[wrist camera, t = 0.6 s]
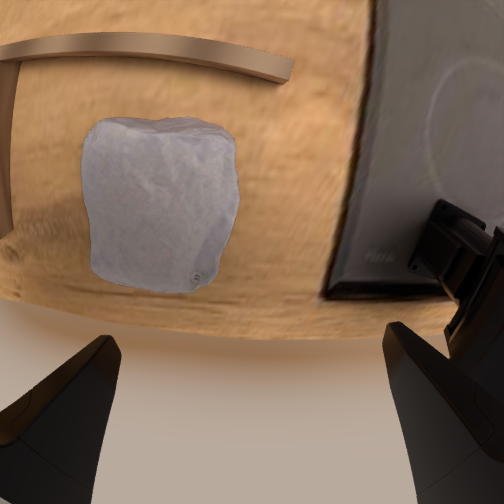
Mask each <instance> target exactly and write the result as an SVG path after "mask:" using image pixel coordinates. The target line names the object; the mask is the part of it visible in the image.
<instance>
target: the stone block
mask: <svg viewBox="0 0 504 504" xmlns="http://www.w3.org/2000/svg"><path fill="white" fill-rule="evenodd" d="M235 157H236V142H235V139H234V138H233V137H232V135H231V134H229V132H228V131H226V130H225V129H224V128H223V127H222V126H219V125H216V124H212V123H208V122H205V121H202V120H200V119H198V118H192V117H179V118H164V119H162V120H148V119H141V118H125V117H115V118H106V119H103V120H100V121H98V122H97V123H96V125H95V126H94V127H93V128H92V129H91V130H90V132H89V133H88V135H87V136H86V138H85V140H84V143H83V153H82V158H81V178H82V190H83V196H84V202H85V206H86V209H87V213H88V218H89V224H90V240H91V250H90V265H91V269H92V271H93V272H94V273H95V274H96V275H97V276H98V277H100V278H102V279H104V280H107V281H109V282H110V283H113V284H119V285H122V286H130V287H135V288H140V289H145V290H150V291H155V292H162V293H193V292H195V291H196V290H197V289H198V287H200V286H208V285H209V284H210V282H211V281H212V280H213V279H214V278H215V277H216V276H217V274H218V271H219V267H220V259H221V256H222V253H223V251H224V248H225V246H226V244H227V243H228V241H229V237H230V234H231V231H232V229H233V225H234V222H235V217H236V214H237V211H238V207H239V202H240V195H239V189H238V188H239V184H238V174H237V169H236V165H235Z"/></svg>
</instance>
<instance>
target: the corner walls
mask: <svg viewBox="0 0 504 504" xmlns="http://www.w3.org/2000/svg"><path fill="white" fill-rule="evenodd" d="M67 56H122V57H139V58H151V59H161V60H169V61H177V62H184V63H191V64H197V65H203V66H209V67H214V68H219V69H224V70H229V71H233V72H238V73H242V74H246V75H250V76H254V77H258V78H262V79H266V80H269V81H273V82H277V83H280V84H285V83H286V82H287V81H289V79H290V76H291V72H292V69H293V66H294V63H295V60H293V59H290V58H286V57H283V56H279V55H276V54H272V53H269V52H265V51H261V50H257V49H253V48H248V47H244V46H240V45H235V44H230V43H225V42H219V41H214V40H208V39H201V38H194V37H186V36H178V35H168V34H155V33H136V32H98V33H80V34H68V35H59V36H50V37H43V38H37V39H31V40H26V41H20V42H16V43H11V44H7V45H2V46H0V239H1V238H3V237H4V236H5V235H6V234H8V233H9V232H10V231H12V230H13V222H12V211H11V197H10V139H11V125H12V115H13V106H14V98H15V92H16V85H17V80H18V74H19V69H20V65H21V61H23V60H31V59H40V58H51V57H67Z"/></svg>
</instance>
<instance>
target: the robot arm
mask: <svg viewBox="0 0 504 504" xmlns="http://www.w3.org/2000/svg"><path fill="white" fill-rule="evenodd" d="M443 205H444V207H443V208H442V206H443ZM485 228H486V224H485V223H484V222H483V221H481V220H480V219H478V218H476V217H475V216H473V215H471V214H469V213H468V212H466V211H464V210H462V209H460V208H459V207H457V206H455V205H453V204H451V203H449V202H447V201H445V200H443V199H442V200H440V201H439V202H438V203H437V206H436V208H435V210H434V213H433V215H432V217H431V219H430V221H429V223H428V226H427V228H426V230H425V232H424V234H423V236H422V238H421V240H420V242H419V244H418V246H417V248H416V250H415V252H414V254H413V256H412V258H411V260H410V262H409V263H408V269H409V270H410V272H412V273H415V274H419V275H422V276H426V277H429V278H432V279H436V280H437V281H438V282H439V283H440V285H441V286H442V287H443V288H444V290H445V291H446V292H447V293H448V295H449V296H450V297H451V299H452V300H453V301H454V302H455V304H456V305H457V306H458V310H457V312H456V313H455V315H454V317H453V318H452V320H451V322H450V323H449V324H448V325H447V326H446V328H445V329H444V334H445V338H446V342H447V346H448V350H449V355H450V358H449V359H448V358H446V357H445V356H444V355H443V354H441V353H440V352H439V351H438V350H436V349H435V348H434V347H432V346H431V345H430V344H429V343H427V342H426V341H425V340H424V339H422V338H421V337H420V336H418V335H417V334H416V333H415V332H413V331H412V330H411V329H409V328H408V327H407V326H405V325H404V324H403V323H401V322H399V321H397V322H391V323H388V324H387V326H386V330H385V334H384V338H383V343H382V347H383V352H384V357H385V362H386V367H387V373H388V378H389V384H390V389H391V392H392V395H393V399H394V402H395V406H396V410H397V413H398V417H399V421H400V424H401V428H402V432H403V436H404V440H405V444H406V448H407V452H408V456H409V461H410V465H411V470H412V475H413V479H414V484H415V490H416V494H417V502H418V504H504V229H503V228H500V227H498V226H496V228H495V230H494V233H493V234H494V236H493V238H492V237H491V236H490V235H489V234H487V233H486V232H485ZM414 265H415V266H414ZM413 266H414V267H413ZM120 363H121V352H120V349H119V347H118V345H117V344H116V342H115V340H114V338H113V337H112V336H111V335H100V336H99V337H98V338H96V339H95V340H94V341H92V342H91V343H90V344H88V345H87V346H86V347H84V348H83V349H82V350H81V351H79V352H78V353H77V354H75V355H74V356H73V357H71V358H70V359H69V360H68V361H66V362H65V363H64V364H62V365H61V366H60V367H59V368H57V369H56V370H55V371H53V372H52V373H51V374H50V375H48V376H47V377H46V378H45V379H43V380H42V381H41V382H39V383H38V384H37V385H36V386H34V387H33V389H31V390H29V391H28V392H27V393H26V394H25V395H23V396H22V397H21V398H19V399H18V400H17V401H15V402H14V403H12V404H11V405H9V406H8V407H7V408H5V409H4V410H2V411H1V412H0V504H91V500H92V493H93V487H94V481H95V476H96V471H97V466H98V461H99V456H100V451H101V447H102V443H103V438H104V434H105V430H106V426H107V422H108V418H109V414H110V410H111V406H112V403H113V399H114V395H115V390H116V384H117V379H118V373H119V368H120Z"/></svg>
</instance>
